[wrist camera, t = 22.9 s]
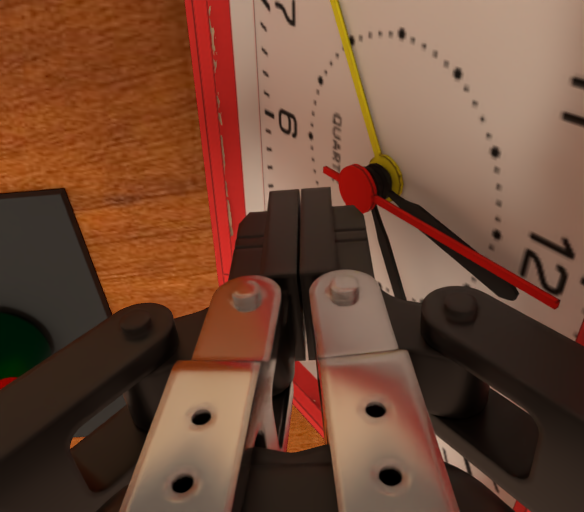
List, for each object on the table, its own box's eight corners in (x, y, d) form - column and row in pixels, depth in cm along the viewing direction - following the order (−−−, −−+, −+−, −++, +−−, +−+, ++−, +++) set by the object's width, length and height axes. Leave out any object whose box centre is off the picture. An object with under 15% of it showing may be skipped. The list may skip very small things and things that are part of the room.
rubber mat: (-167, 207, 28) (-176, 213, 28) (64, 188, 27) (60, 194, 27) (-18, 435, 38) (-22, 442, 38) (153, 426, 37) (151, 433, 37)
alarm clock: (412, -259, 18) (1280, -454, 7) (372, 252, 29) (687, 466, 19) (126, -291, 14) (1259, -899, 3) (211, 325, 25) (502, 659, 14)
